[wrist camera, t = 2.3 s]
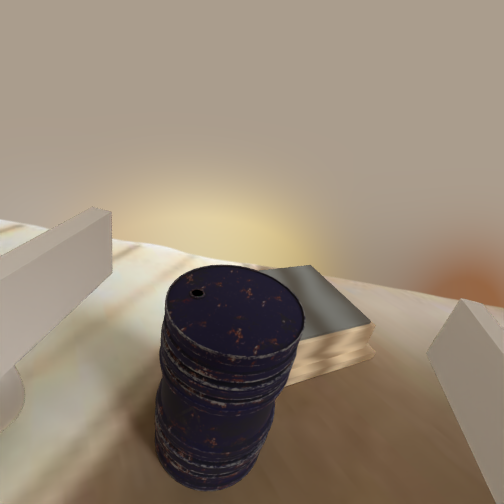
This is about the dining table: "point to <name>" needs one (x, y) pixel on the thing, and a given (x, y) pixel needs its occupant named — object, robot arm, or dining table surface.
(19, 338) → the robot arm
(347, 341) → the plinth
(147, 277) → the dining table surface
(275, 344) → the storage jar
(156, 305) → the dining table surface
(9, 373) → the fox head
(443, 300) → the dining table surface
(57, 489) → the dining table surface
